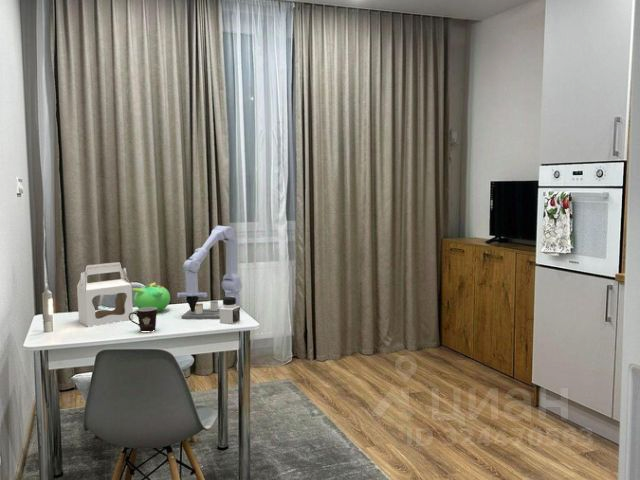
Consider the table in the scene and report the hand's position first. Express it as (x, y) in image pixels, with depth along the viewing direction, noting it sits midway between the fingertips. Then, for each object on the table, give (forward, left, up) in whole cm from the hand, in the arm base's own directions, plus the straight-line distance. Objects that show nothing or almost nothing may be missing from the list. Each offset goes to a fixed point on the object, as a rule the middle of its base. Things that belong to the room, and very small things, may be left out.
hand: (192, 311), depth 287 cm
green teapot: (-11, -25, -3) cm, 27 cm away
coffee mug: (+26, -15, -3) cm, 30 cm away
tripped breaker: (0, +3, -1) cm, 3 cm away
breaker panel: (-3, +5, -3) cm, 7 cm away
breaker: (-7, +9, -1) cm, 11 cm away
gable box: (+8, -41, -3) cm, 41 cm away
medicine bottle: (+9, +20, -3) cm, 23 cm away
